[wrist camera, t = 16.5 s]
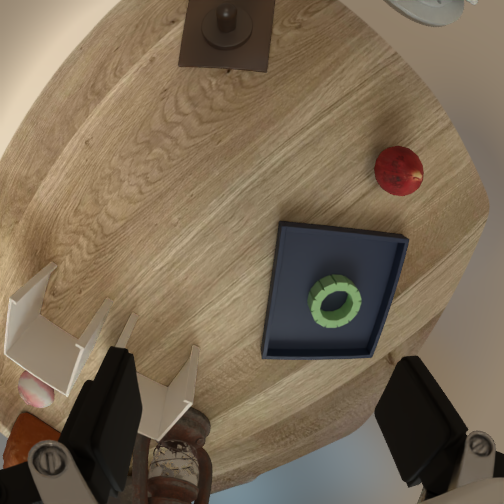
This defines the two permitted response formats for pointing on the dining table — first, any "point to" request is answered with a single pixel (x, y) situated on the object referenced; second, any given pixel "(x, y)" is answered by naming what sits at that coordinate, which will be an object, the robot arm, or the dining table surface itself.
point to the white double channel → (87, 355)
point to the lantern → (178, 442)
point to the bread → (26, 438)
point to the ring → (340, 315)
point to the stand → (227, 34)
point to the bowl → (124, 494)
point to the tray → (317, 267)
